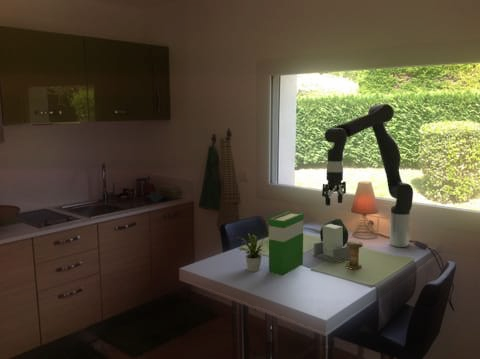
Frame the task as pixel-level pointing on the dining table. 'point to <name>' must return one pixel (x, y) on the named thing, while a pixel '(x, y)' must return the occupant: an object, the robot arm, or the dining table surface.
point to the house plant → (253, 254)
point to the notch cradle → (338, 253)
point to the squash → (338, 223)
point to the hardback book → (285, 243)
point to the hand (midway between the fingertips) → (333, 204)
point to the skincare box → (332, 238)
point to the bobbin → (354, 254)
